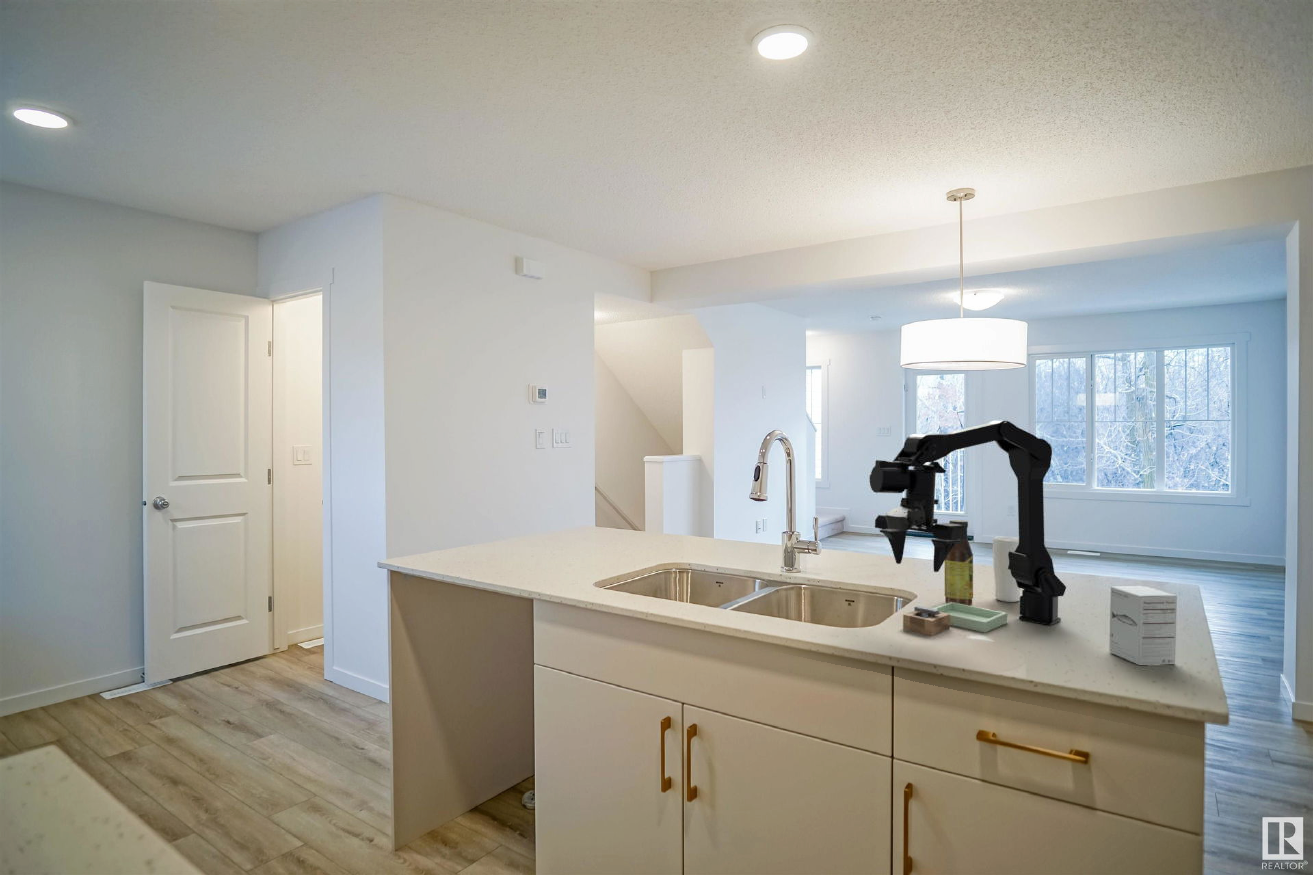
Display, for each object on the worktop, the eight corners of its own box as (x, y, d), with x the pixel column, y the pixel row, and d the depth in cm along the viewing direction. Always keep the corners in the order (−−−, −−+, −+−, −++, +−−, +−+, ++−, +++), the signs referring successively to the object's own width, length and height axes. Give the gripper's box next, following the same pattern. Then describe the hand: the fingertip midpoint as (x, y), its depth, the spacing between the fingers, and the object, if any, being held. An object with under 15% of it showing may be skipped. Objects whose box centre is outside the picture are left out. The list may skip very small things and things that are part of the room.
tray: (1007, 622, 150) (1007, 612, 150) (984, 632, 143) (985, 622, 143) (950, 610, 159) (950, 601, 159) (927, 619, 152) (927, 609, 152)
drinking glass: (993, 601, 168) (993, 539, 168) (991, 595, 174) (991, 535, 174) (1024, 604, 165) (1025, 541, 165) (1021, 598, 172) (1022, 537, 171)
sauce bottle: (975, 608, 162) (977, 523, 161) (947, 606, 163) (948, 522, 163) (969, 601, 168) (970, 519, 168) (941, 599, 169) (942, 518, 169)
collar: (921, 621, 150) (921, 608, 150) (949, 628, 146) (949, 613, 146) (903, 628, 145) (903, 614, 145) (931, 635, 140) (931, 620, 140)
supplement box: (1107, 652, 130) (1108, 585, 130) (1144, 651, 131) (1145, 585, 131) (1138, 666, 123) (1139, 595, 123) (1177, 665, 124) (1178, 594, 123)
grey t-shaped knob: (939, 630, 144) (939, 609, 144) (934, 631, 143) (934, 611, 143) (918, 625, 148) (918, 605, 148) (913, 626, 146) (913, 607, 146)
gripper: (859, 490, 150) (856, 562, 150) (935, 499, 135) (932, 579, 135) (892, 489, 156) (889, 558, 157) (969, 498, 141) (966, 575, 141)
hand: (916, 567), depth 147 cm, fingers open, 9 cm apart
